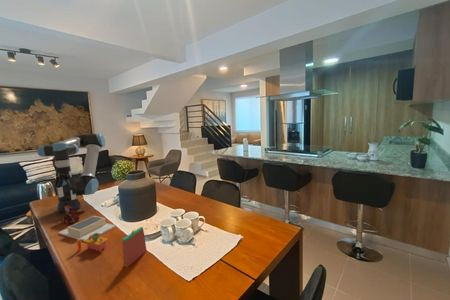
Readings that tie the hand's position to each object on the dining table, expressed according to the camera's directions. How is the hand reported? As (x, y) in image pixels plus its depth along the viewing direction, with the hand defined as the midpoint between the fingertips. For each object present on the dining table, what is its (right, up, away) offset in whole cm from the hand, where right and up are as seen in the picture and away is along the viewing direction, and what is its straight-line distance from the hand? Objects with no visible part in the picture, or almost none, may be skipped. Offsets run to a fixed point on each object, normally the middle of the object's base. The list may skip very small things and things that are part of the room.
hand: (67, 198), depth 139 cm
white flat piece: (+20, -17, -10) cm, 29 cm away
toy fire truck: (+1, -17, +3) cm, 17 cm away
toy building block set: (+46, -20, -33) cm, 60 cm away
